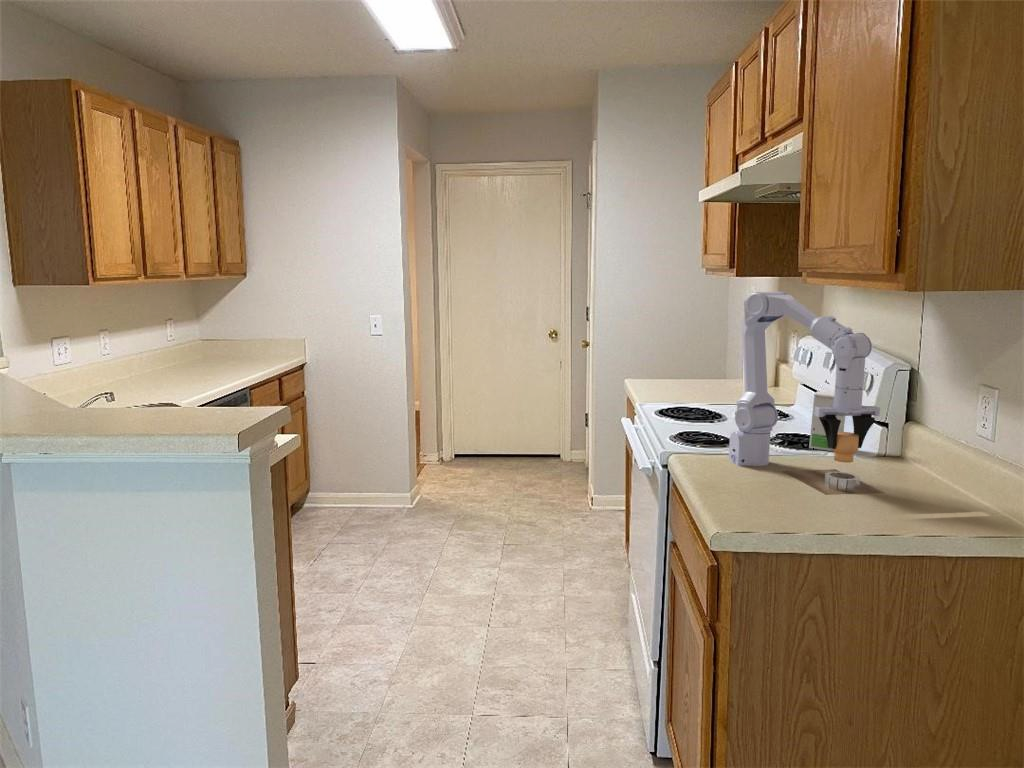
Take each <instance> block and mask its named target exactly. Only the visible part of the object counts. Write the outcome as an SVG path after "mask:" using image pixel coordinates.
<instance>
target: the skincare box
mask: <svg viewBox="0 0 1024 768" xmlns="http://www.w3.org/2000/svg"><path fill="white" fill-rule="evenodd" d="M834 395H835V392H829V391H818V390H817V391H816V392H815V393H814V394H813V404H812V405H813V407H812V412H811V414H812V415H811V424H810V436H809V445H808V448H809V449H813V448H814V449H815V450H821V451H827V452H828V451H829V452H834V451H833V450H831V448H830V447H828V443H827V438H826V434H825V430H824V428H823V425H822V423H821V421H820V419H819V417H818V416H815V415H814V413H815V407H824V406H833V405H834ZM836 417H837V419H838V420H841V423H840V426H839V429H838V432H845V431H844V430H845V421H846V416H836Z"/></svg>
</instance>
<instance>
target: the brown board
mask: <svg viewBox="0 0 1024 768" xmlns="http://www.w3.org/2000/svg"><path fill="white" fill-rule="evenodd" d="M782 472H783V473H784V474H786V475H788V476H790V477H792V478H794V479H796V480H798V481H799V482H801V483H803V484H804V485H807V486H809V487H811V488H812V489H813V490H814V489H815V490H816V491H818V492H820V493H821V494H824V495H853V494H858V495H859V494H884V493H885V491H882V490H881V489H879V488H877V487H874V486H872V485H870V484H867V483H865V482H863V481H861V480H860V484H859V490H856V491H840V490H834V489H830V488H828V487H826V486H824V484H825V473H827V472H841V471H840V470H839V469H831V468H829V469H807V470H805V469H802V470H801V469H799V470H797V469H796V470H782ZM885 494H886V493H885Z"/></svg>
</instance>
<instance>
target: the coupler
mask: <svg viewBox="0 0 1024 768" xmlns="http://www.w3.org/2000/svg"><path fill="white" fill-rule="evenodd" d="M858 443H859V435H858V434H855V433H854V432H848V431H844V432H838V434H837V444H836V449H832V448H831V450H833V451H832V452H833V454H834V455H833V460H834V461H835V462H838V463H844V464H845V463H847V464H848V463H849V464H850V463H853V462H854V457H855V453H859V448H858Z"/></svg>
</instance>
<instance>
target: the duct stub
mask: <svg viewBox="0 0 1024 768" xmlns="http://www.w3.org/2000/svg"><path fill="white" fill-rule="evenodd" d="M860 481H861V477H860V475H857V474H856V473H855V474H854V473H851V472H845V471H840V472H827V473H825V484H824V486H826V487H828V488H830V489H834V490H840V491H856V490H859V484H860Z"/></svg>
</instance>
